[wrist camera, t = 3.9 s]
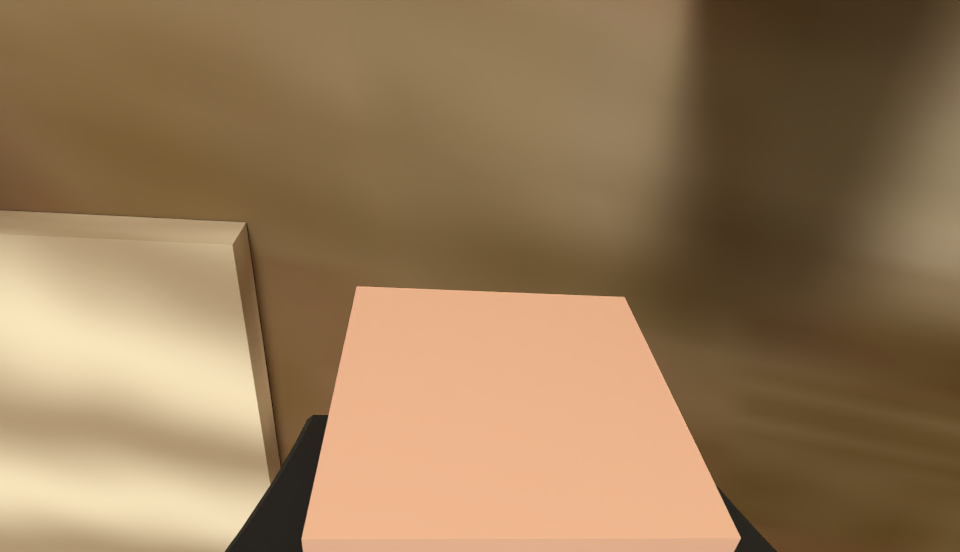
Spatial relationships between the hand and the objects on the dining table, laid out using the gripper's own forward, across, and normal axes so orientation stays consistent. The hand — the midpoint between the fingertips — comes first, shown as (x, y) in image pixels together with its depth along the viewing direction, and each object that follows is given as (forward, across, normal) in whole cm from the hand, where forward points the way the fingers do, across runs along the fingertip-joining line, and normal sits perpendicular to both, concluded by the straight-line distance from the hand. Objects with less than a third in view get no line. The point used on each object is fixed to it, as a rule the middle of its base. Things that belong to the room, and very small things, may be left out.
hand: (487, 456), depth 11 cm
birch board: (+7, +12, +6) cm, 15 cm away
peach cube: (+2, 0, 0) cm, 2 cm away
